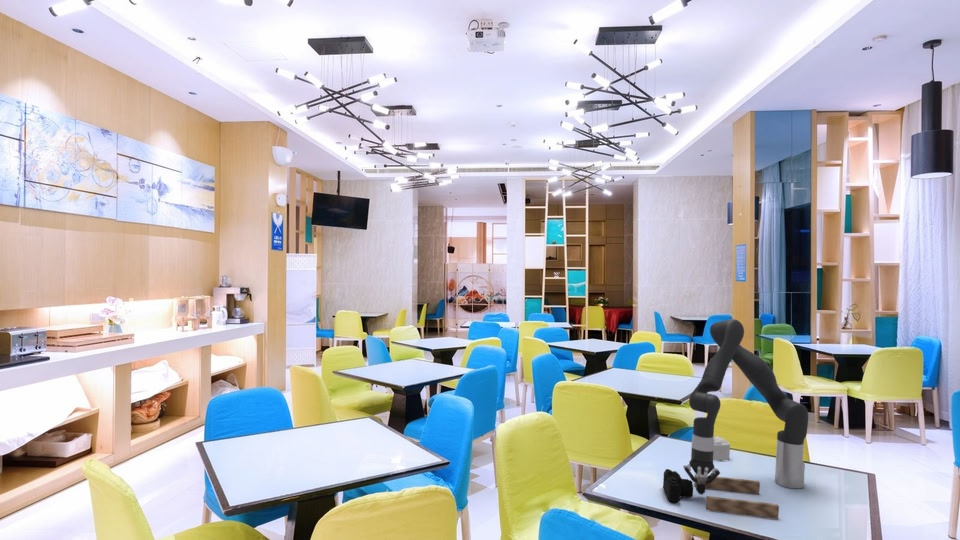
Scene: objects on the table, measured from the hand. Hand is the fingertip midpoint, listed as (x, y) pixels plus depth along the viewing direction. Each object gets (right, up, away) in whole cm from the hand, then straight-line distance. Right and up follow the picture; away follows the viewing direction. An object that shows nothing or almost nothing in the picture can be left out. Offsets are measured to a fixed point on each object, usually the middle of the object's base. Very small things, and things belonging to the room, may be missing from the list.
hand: (700, 493), depth 194 cm
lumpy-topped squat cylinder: (+23, -2, +43) cm, 49 cm away
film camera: (-8, -2, +1) cm, 8 cm away
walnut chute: (+11, -2, -2) cm, 12 cm away
